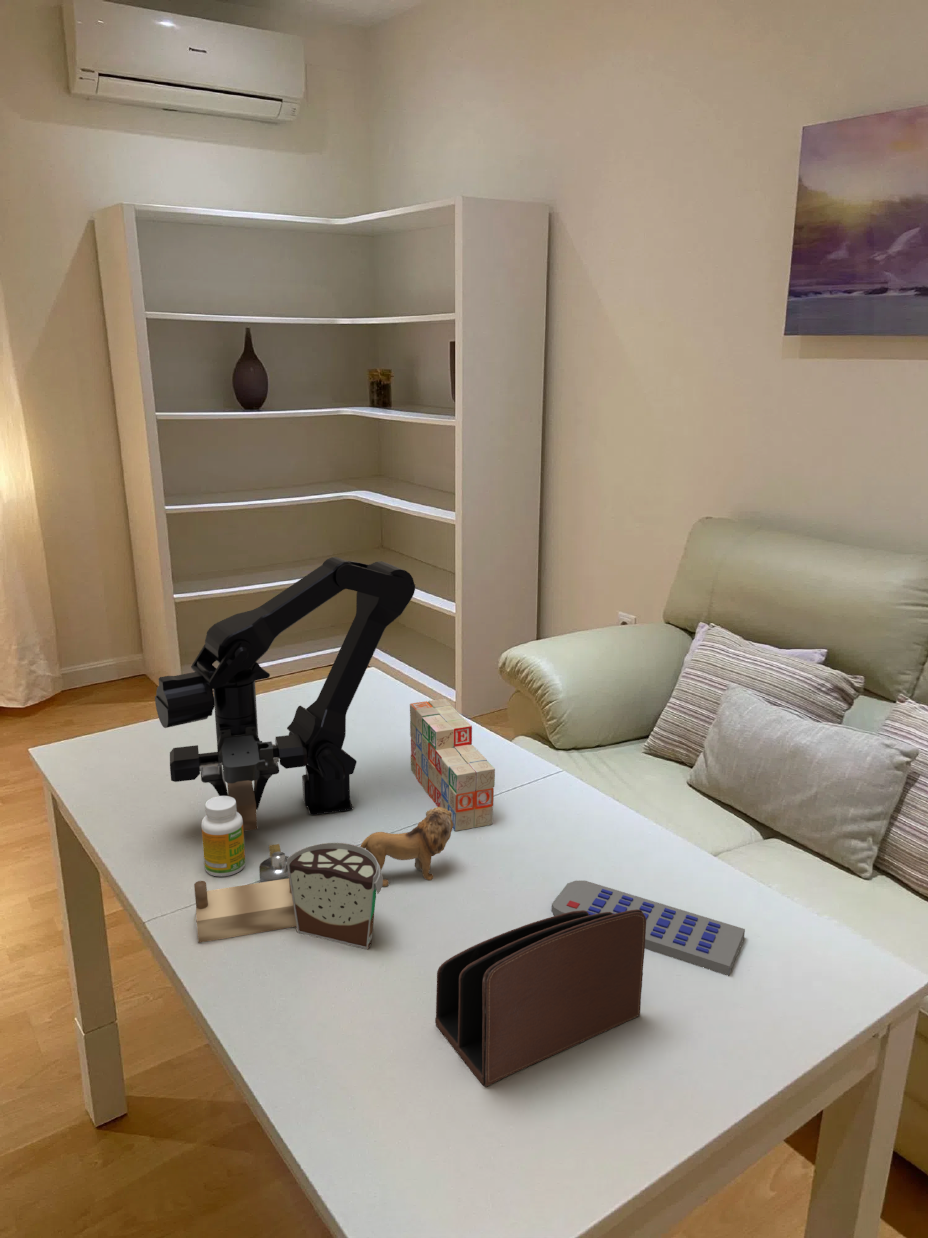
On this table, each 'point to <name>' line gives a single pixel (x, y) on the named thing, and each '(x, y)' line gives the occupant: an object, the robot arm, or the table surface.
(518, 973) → the letter holder
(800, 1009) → the table surface
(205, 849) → the supplement bottle
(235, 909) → the peg stand
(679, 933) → the remote control
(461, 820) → the stack of blocks
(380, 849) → the lion figurine
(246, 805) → the tall brown cuboid
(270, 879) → the door lever handle
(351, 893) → the food container
